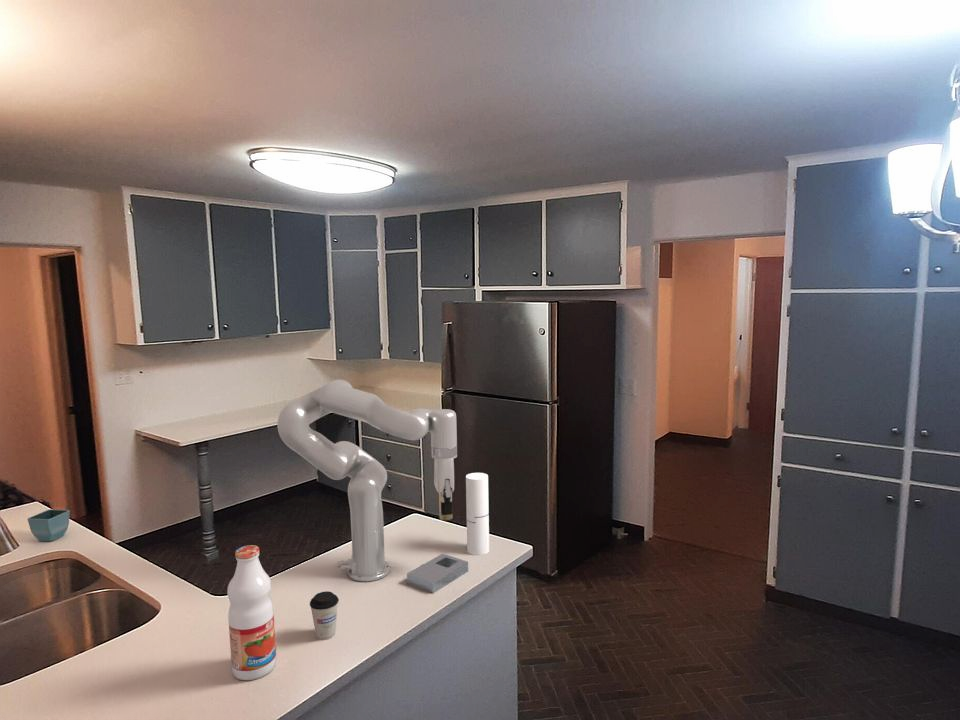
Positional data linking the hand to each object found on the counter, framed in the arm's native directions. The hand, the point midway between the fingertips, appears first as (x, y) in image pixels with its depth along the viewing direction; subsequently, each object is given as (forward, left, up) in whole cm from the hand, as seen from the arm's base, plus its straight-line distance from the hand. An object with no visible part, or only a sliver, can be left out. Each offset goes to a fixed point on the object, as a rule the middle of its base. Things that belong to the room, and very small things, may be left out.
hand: (445, 511), depth 175 cm
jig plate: (-3, -3, -19) cm, 19 cm away
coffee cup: (-34, -26, -19) cm, 47 cm away
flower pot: (-132, +56, -19) cm, 145 cm away
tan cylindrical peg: (0, 0, -2) cm, 2 cm away
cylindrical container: (+12, +12, -19) cm, 26 cm away
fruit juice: (-49, -36, -19) cm, 64 cm away
